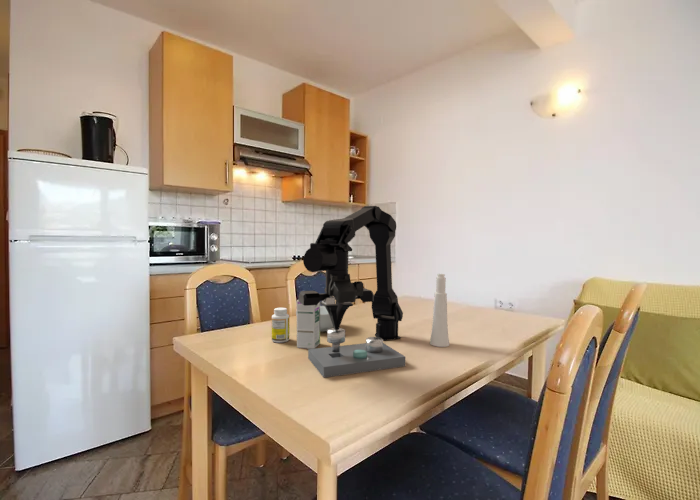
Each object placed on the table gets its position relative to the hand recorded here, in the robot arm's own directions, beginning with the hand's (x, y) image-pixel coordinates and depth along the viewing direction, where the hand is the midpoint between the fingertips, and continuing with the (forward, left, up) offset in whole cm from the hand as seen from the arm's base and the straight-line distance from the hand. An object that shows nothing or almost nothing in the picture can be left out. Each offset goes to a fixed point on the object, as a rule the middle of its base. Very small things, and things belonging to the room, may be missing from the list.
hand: (336, 329), depth 91 cm
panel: (-5, 0, -9) cm, 11 cm away
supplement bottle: (+10, -26, -9) cm, 29 cm away
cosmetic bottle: (-36, -6, -9) cm, 38 cm away
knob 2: (-11, 0, -10) cm, 15 cm away
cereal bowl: (-6, -36, -9) cm, 38 cm away
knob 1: (0, 0, -7) cm, 7 cm away
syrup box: (+3, -18, -9) cm, 20 cm away
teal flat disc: (-5, +3, -7) cm, 9 cm away
